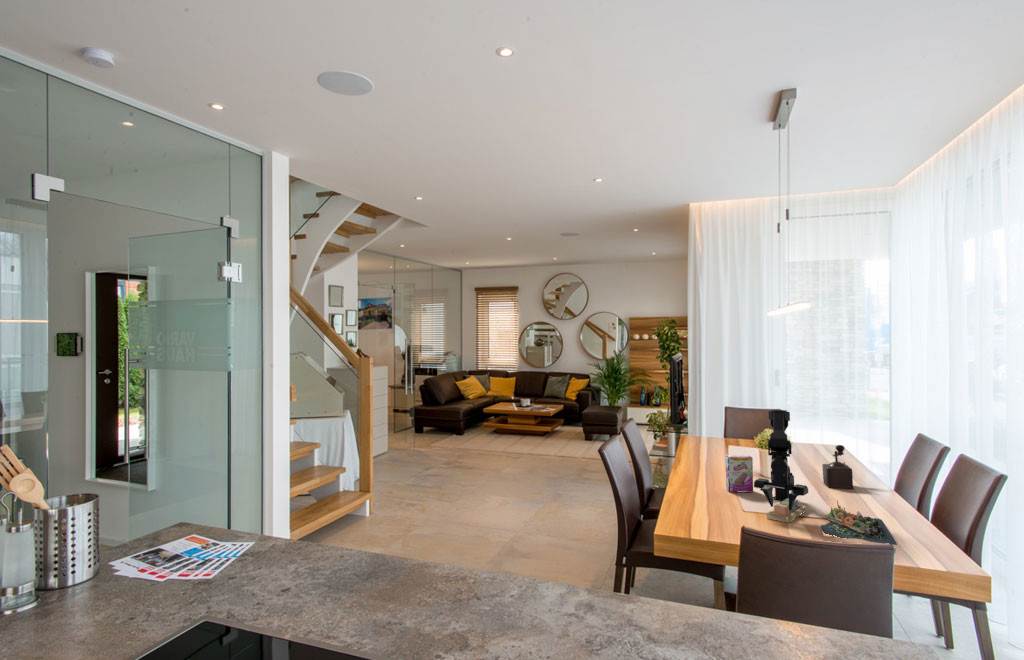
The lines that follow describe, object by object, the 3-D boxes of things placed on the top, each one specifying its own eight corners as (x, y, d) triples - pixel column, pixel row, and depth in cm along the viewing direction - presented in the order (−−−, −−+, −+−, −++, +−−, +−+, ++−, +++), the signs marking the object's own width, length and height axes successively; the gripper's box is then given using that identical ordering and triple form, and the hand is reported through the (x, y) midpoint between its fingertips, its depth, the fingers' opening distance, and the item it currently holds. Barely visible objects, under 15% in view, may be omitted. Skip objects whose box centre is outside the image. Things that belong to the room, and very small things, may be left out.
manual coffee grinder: (855, 489, 250) (853, 450, 251) (828, 488, 253) (827, 449, 254) (845, 481, 265) (843, 444, 266) (819, 480, 268) (818, 443, 269)
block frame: (785, 507, 226) (784, 495, 226) (806, 511, 220) (805, 499, 221) (766, 518, 213) (766, 506, 213) (788, 523, 207) (787, 510, 207)
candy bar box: (729, 492, 250) (727, 457, 251) (725, 489, 255) (724, 454, 256) (754, 492, 249) (752, 456, 250) (750, 489, 254) (749, 454, 255)
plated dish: (806, 511, 223) (805, 493, 223) (887, 519, 211) (886, 501, 212) (814, 541, 191) (814, 520, 191) (911, 553, 179) (910, 531, 180)
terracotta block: (774, 516, 213) (773, 506, 213) (778, 513, 216) (777, 503, 216) (784, 518, 210) (784, 508, 210) (788, 516, 213) (788, 505, 213)
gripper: (812, 468, 212) (814, 508, 212) (763, 461, 226) (765, 499, 225) (802, 474, 205) (803, 515, 204) (752, 466, 218) (754, 505, 218)
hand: (781, 508), depth 213 cm, fingers open, 7 cm apart
